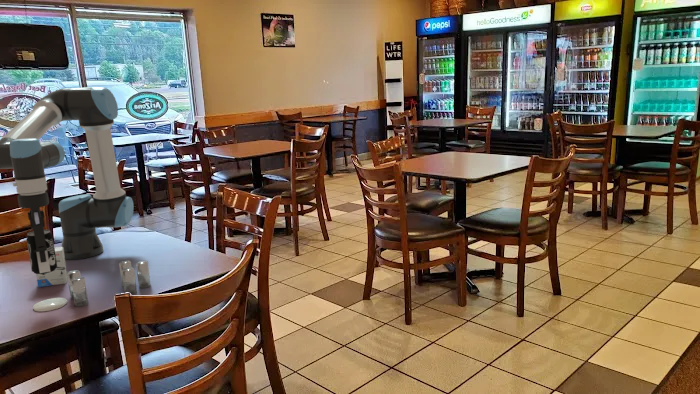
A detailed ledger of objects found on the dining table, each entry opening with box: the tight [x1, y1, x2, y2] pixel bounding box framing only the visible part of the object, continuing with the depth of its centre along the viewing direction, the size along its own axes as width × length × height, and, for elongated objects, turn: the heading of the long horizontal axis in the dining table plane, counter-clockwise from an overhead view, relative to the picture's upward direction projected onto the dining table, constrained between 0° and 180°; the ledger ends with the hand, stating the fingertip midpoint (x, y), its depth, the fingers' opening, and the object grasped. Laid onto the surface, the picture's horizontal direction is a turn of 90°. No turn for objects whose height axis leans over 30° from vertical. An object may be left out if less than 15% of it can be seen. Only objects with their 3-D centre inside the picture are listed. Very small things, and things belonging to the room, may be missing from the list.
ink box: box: [35, 246, 68, 288], centre depth 173 cm, size 9×5×12 cm, turn 114°
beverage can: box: [26, 229, 57, 275], centre depth 152 cm, size 7×7×12 cm
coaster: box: [32, 297, 68, 313], centre depth 156 cm, size 9×9×1 cm
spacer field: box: [67, 260, 151, 308], centre depth 163 cm, size 12×23×8 cm, turn 123°
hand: (44, 268), depth 153 cm, fingers closed on beverage can, 6 cm apart
